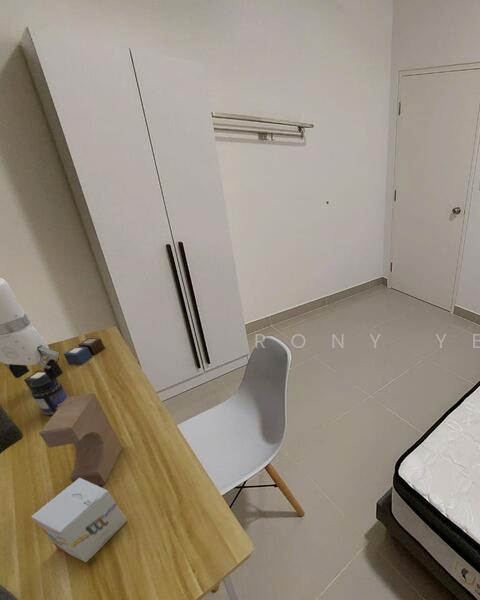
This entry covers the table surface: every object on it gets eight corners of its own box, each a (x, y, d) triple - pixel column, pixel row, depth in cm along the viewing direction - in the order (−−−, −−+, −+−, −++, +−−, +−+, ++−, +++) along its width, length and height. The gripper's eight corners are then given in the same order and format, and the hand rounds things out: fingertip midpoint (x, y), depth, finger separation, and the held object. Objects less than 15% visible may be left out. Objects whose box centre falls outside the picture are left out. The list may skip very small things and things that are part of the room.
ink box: (55, 548, 67) (27, 515, 61) (100, 508, 74) (79, 475, 68) (85, 564, 65) (59, 532, 59) (128, 521, 72) (109, 488, 66)
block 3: (94, 355, 120) (89, 345, 117) (82, 354, 120) (77, 344, 117) (105, 348, 124) (100, 338, 121) (93, 347, 124) (88, 337, 121)
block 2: (81, 365, 115) (75, 354, 113) (68, 364, 115) (63, 353, 113) (92, 357, 119) (87, 346, 117) (80, 356, 119) (75, 346, 117)
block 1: (44, 391, 103) (37, 380, 101) (30, 390, 103) (23, 379, 101) (58, 381, 107) (51, 371, 105) (44, 380, 107) (38, 370, 105)
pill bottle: (72, 398, 101) (57, 370, 96) (72, 410, 97) (55, 382, 92) (45, 407, 98) (27, 379, 93) (43, 420, 94) (24, 391, 89)
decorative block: (104, 485, 78) (69, 428, 69) (75, 491, 77) (35, 433, 67) (124, 447, 88) (96, 391, 78) (99, 451, 86) (66, 395, 77)
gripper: (-44, 330, 80) (-6, 383, 88) (25, 334, 80) (56, 386, 88) (-9, 315, 87) (23, 365, 95) (54, 318, 87) (81, 368, 95)
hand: (39, 375), depth 92 cm, fingers open, 9 cm apart
